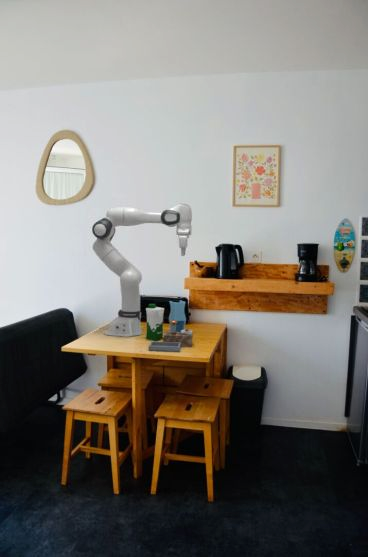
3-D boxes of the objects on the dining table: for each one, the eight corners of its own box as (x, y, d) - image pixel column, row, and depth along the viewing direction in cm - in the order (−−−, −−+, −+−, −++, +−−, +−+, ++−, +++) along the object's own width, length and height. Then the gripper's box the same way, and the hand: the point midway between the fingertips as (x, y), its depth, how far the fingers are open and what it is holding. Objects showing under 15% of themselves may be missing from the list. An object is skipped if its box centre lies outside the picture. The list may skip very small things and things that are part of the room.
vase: (179, 332, 255) (180, 300, 253) (185, 335, 248) (186, 302, 246) (168, 333, 252) (169, 300, 250) (173, 336, 245) (174, 302, 243)
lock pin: (169, 343, 225) (170, 321, 223) (170, 341, 228) (170, 319, 227) (176, 343, 224) (176, 321, 223) (176, 341, 228) (177, 320, 227)
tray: (148, 350, 212) (148, 346, 212) (151, 345, 222) (151, 341, 222) (179, 352, 211) (179, 347, 211) (180, 346, 221) (180, 342, 221)
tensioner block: (163, 346, 222) (163, 330, 221) (164, 341, 231) (165, 326, 230) (191, 347, 221) (192, 331, 221) (192, 342, 230) (192, 327, 229)
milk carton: (152, 336, 243) (153, 302, 241) (165, 338, 238) (166, 304, 236) (143, 339, 236) (144, 304, 234) (156, 341, 231) (157, 306, 229)
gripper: (179, 232, 251) (179, 254, 253) (177, 231, 231) (176, 256, 232) (189, 232, 251) (189, 255, 252) (188, 231, 231) (187, 256, 232)
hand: (183, 255), depth 242 cm, fingers open, 8 cm apart
